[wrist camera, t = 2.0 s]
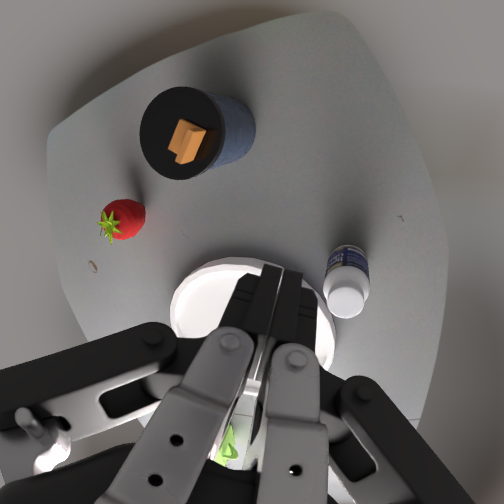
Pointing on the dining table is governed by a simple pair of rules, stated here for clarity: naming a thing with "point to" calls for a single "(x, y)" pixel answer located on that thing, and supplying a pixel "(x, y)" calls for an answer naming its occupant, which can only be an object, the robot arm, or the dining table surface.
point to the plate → (217, 297)
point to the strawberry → (122, 219)
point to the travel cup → (204, 116)
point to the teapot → (226, 448)
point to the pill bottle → (346, 281)
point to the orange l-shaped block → (186, 141)
